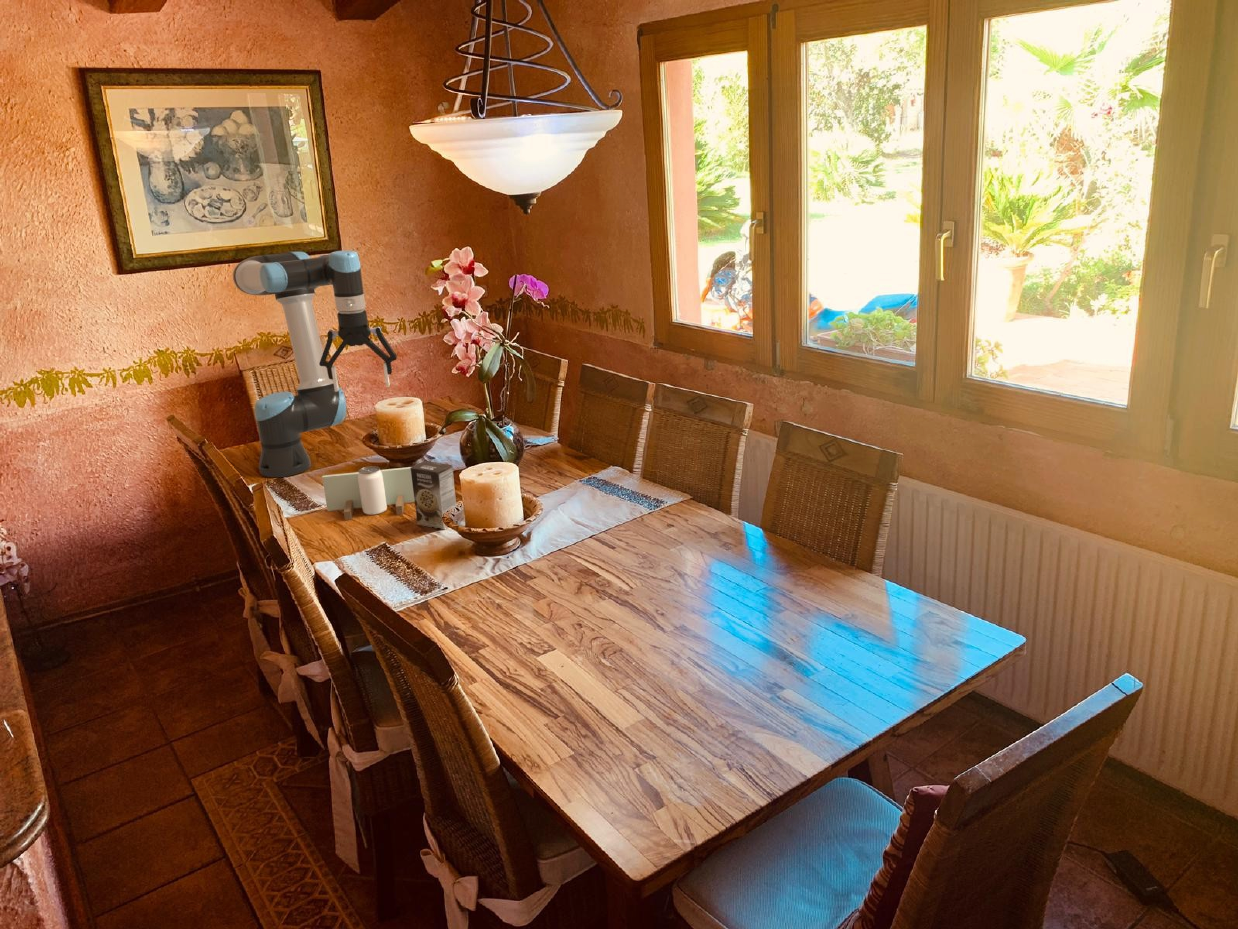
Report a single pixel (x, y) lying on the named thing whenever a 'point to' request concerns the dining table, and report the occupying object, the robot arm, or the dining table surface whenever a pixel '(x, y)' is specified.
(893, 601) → the dining table surface
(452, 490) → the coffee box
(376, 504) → the can
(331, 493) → the wall board
